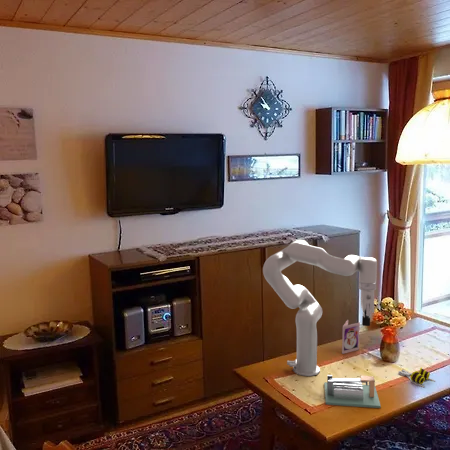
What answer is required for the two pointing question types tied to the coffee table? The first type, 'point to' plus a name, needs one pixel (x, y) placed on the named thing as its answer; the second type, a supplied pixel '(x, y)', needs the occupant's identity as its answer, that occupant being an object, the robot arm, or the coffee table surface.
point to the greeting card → (350, 337)
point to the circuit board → (366, 402)
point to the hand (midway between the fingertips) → (366, 325)
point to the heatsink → (344, 390)
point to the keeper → (371, 384)
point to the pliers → (410, 378)
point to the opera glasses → (420, 376)
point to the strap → (348, 380)
